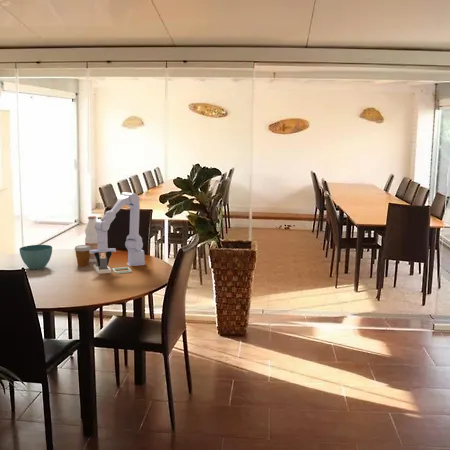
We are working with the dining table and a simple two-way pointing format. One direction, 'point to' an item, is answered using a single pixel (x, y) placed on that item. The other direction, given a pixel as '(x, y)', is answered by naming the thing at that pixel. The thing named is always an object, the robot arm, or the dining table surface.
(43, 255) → the teal bowl
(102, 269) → the strip
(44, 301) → the dining table surface
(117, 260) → the dining table surface
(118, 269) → the tray
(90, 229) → the fruit juice
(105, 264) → the plug
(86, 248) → the disposable coffee cup
